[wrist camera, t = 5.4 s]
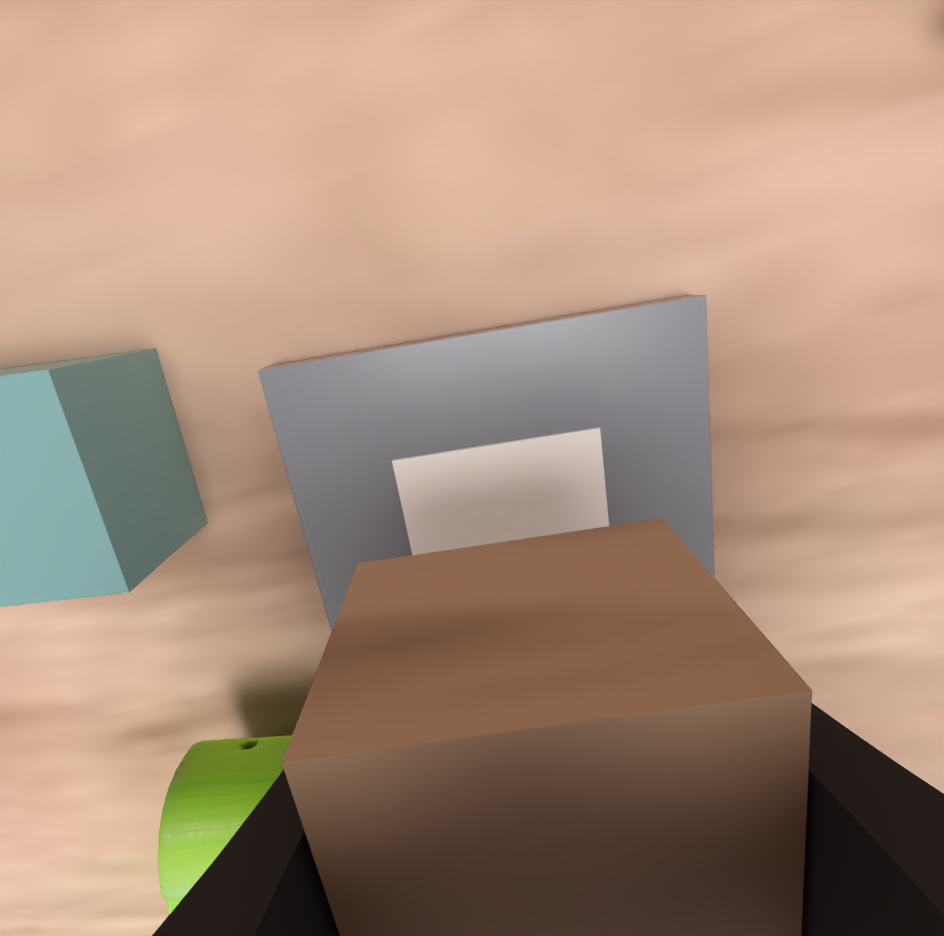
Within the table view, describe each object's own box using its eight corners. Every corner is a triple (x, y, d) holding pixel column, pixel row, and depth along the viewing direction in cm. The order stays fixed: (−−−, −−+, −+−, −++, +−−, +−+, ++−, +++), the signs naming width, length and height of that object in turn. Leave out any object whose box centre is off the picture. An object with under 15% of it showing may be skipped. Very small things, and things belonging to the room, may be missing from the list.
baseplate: (703, 654, 17) (718, 677, 16) (363, 701, 18) (357, 726, 17) (690, 294, 14) (707, 295, 13) (272, 365, 15) (256, 371, 14)
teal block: (209, 520, 16) (129, 592, 12) (45, 539, 16) (-84, 616, 13) (158, 348, 15) (47, 369, 11) (-23, 371, 15) (-194, 400, 11)
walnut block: (675, 758, 10) (797, 1029, 7) (414, 793, 11) (388, 1077, 7) (662, 518, 9) (812, 689, 5) (358, 563, 9) (281, 763, 5)
